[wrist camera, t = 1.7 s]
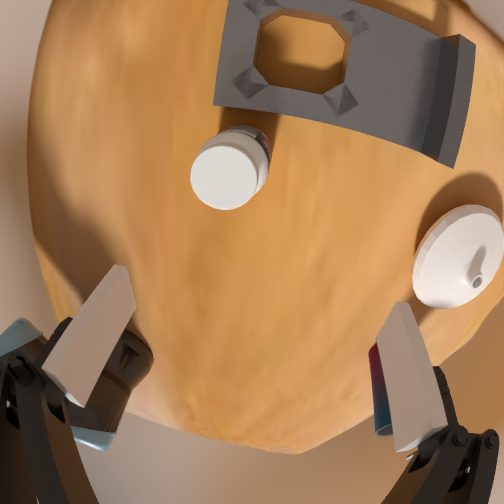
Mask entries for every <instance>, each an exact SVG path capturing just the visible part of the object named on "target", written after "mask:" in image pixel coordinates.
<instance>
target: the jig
mask: <svg viewBox="0 0 504 504" xmlns="http://www.w3.org/2000/svg"><path fill="white" fill-rule="evenodd" d="M281 15H286V16H292V17H298V18H304V19H309V20H314V21H319V22H323V23H328V24H331V26H332V27H333V28H334V29H335V30H336V32H337V33H338V34H339V35H340V36H341V38H342V39H343V40H344V42H345V49H344V55H343V61H342V67H341V73H340V79H339V84H337V85H335V86H334V87H332V88H330V89H328V90H327V91H325V92H323V93H322V94H316V93H311V92H306V91H301V90H296V89H291V88H285V87H279V86H272V85H269V83H268V82H267V81H266V80H265V79H264V77H263V76H262V75H261V74H260V73H259V72H258V70H257V69H256V68H255V67H256V61H257V55H258V48H259V42H260V36H261V30H262V27H263V26H264V25H266V24H268V23H269V22H271V21H273V20H274V19H276V18H278V17H280V16H281ZM475 50H476V45H475V44H474V43H473V42H471V41H470V40H468V39H467V38H465V37H464V36H462V35H460V34H457V35H452V36H448V37H443V38H440V37H438V36H437V35H435V34H433V33H431V32H429V31H427V30H425V29H423V28H421V27H419V26H417V25H415V24H413V23H410V22H408V21H406V20H404V19H401V18H399V17H397V16H394V15H392V14H389V13H387V12H384V11H381V10H379V9H376V8H373V7H370V6H367V5H364V4H361V3H358V2H354V1H351V0H229V2H228V7H227V13H226V18H225V24H224V30H223V36H222V43H221V49H220V56H219V63H218V70H217V77H216V85H215V93H214V101H213V106H224V107H234V108H243V109H251V110H259V111H266V112H272V113H278V114H284V115H290V116H295V117H300V118H305V119H310V120H314V121H319V122H323V123H328V124H332V125H336V126H340V127H344V128H347V129H351V130H355V131H358V132H362V133H365V134H368V135H372V136H375V137H378V138H381V139H384V140H387V141H390V142H393V143H396V144H399V145H402V146H405V147H407V148H410V149H413V150H415V151H418V152H420V153H422V154H424V155H426V156H428V157H430V158H431V159H433V160H435V161H437V162H439V163H441V164H443V165H446V166H448V167H450V168H452V169H453V168H454V165H455V161H456V158H457V154H458V151H459V147H460V143H461V139H462V135H463V131H464V127H465V122H466V117H467V112H468V107H469V102H470V96H471V89H472V82H473V73H474V64H475Z"/></svg>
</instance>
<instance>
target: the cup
mask: <svg viewBox="0 0 504 504" xmlns="http://www.w3.org/2000/svg"><path fill="white" fill-rule="evenodd" d="M369 362H370V371H371V380H372V391H373V403H374V419H375V435H376V436H379V437H386V436H392V435H393V427H392V420H391V413H390V407H389V401H388V395H387V389H386V384H385V379H384V374H383V369H382V364H381V359H380V355H379V350H378V346H377V345H375V346H374V347H372V348H371V350H370V351H369Z"/></svg>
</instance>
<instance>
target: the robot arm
mask: <svg viewBox="0 0 504 504" xmlns="http://www.w3.org/2000/svg"><path fill="white" fill-rule="evenodd" d="M136 308H137V305H136V301H135V297H134V294H133V290H132V286H131V282H130V278H129V273H128V269H127V267H126V266H121V265H115V264H114V265H113V267H112V268H111V269H110V270H109V272H108V273H107V274H106V275H105V277H104V278H103V279H102V281H101V282H100V283H99V284H98V286H97V287H96V288H95V290H94V291H93V292H92V294H91V295H90V296H89V298H88V299H87V300H86V302H85V303H84V304H83V306H82V307H81V308H80V310H79V311H78V313H77V314H76V315H75V317H74V318H71V317H67V318H66V319H65V320H64V321H62V322H61V323H60V324H59V325H58V327H57V328H56V330H55V331H54V333H53V334H52V336H51V337H50V340H47V339H46V338H45V337H44V336H43V333H42V332H40V331H39V330H38V329H36V327H35V326H34V325H32V323H31V322H30V321H28V320H27V319H25V318H19V319H17V320H16V321H14V322H13V323H12V325H10V326H9V327H8V328H7V329H6V330H5V331H4V332H3V333H2V334H1V335H0V504H37V498H38V501H39V504H99V502H98V500H97V498H96V496H95V494H94V492H93V489H92V487H91V485H90V482H89V480H88V477H87V475H86V472H85V469H84V467H83V464H82V461H81V458H80V455H79V452H78V449H77V447H76V443H75V441H78V442H80V443H82V444H85V445H87V446H90V447H92V448H95V449H98V450H106V449H108V448H109V447H110V445H111V443H112V441H113V439H114V437H115V435H116V431H117V429H118V426H119V423H120V421H121V418H122V415H123V413H124V410H125V407H126V405H127V402H128V400H129V397H130V395H131V392H132V390H133V389H134V388H135V387H136V386H137V385H138V384H139V383H140V382H141V381H142V380H143V379H144V377H145V376H146V375H147V374H148V373H149V371H150V369H151V367H152V364H153V356H152V354H151V352H150V350H149V349H148V348H147V347H146V345H145V344H144V343H143V342H142V341H140V340H139V339H138V338H137V337H136V336H134V335H133V334H131V333H130V332H128V331H127V330H125V327H126V325H127V323H128V322H129V320H130V318H131V316H132V315H133V313H134V311H135V309H136ZM376 341H377V346H378V350H379V355H380V359H381V364H382V369H383V374H384V379H385V384H386V389H387V395H388V401H389V407H390V413H391V420H392V427H393V435H394V443H395V452H400V451H406V450H410V449H412V448H414V447H415V446H417V445H418V450H417V451H416V452H414V453H412V454H410V455H408V456H407V458H406V460H408V459H410V458H411V457H412V459H411V460H410V461H409V464H408V465H407V467H406V469H405V470H404V472H403V473H402V475H401V476H400V478H399V479H398V481H397V483H396V484H395V485H394V487H393V488H392V490H391V491H390V493H389V494H388V495H387V496H386V498H385V499H384V500H383V502H382V503H381V504H488V501H489V497H490V494H491V489H492V485H493V480H494V475H495V470H496V464H497V458H498V450H499V436H498V434H497V432H496V431H494V430H493V429H488V430H487V431H485V432H484V433H482V434H475V433H468V431H467V429H466V428H464V426H461V425H459V424H458V421H457V417H456V413H455V409H454V405H453V402H452V398H451V395H450V391H449V388H448V387H447V385H448V384H447V381H446V378H445V375H444V373H443V372H442V370H441V369H440V367H439V366H432V364H431V361H430V358H429V355H428V352H427V349H426V346H425V343H424V341H423V338H422V335H421V332H420V330H419V327H418V325H417V322H416V319H415V317H414V314H413V312H412V310H411V307H410V305H409V303H407V302H396V303H395V305H394V306H393V308H392V310H391V312H390V314H389V316H388V318H387V320H386V321H385V323H384V325H383V327H382V329H381V330H380V332H379V334H378V336H377V337H376ZM468 467H470V470H469V473H468ZM36 495H37V497H36Z"/></svg>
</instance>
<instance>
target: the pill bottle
mask: <svg viewBox="0 0 504 504" xmlns="http://www.w3.org/2000/svg"><path fill="white" fill-rule="evenodd" d="M271 157H272V148H271V144H270V141H269V139H268V138H267V136H266V135H265V134H264V133H263V132H262V131H261V130H259V129H258V128H256V127H254V126H250V125H236V126H233V127H230V128H228V129H226V130H224V131H223V132H221V133H219V134H217V135H216V136H214V137H212V138H211V139H209V140H208V141H207V142H206V143H205V144H204V145H203V146H202V148H201V149H200V151H199V153H198V156H197V157H196V159H195V160H194V162H193V165H192V168H191V172H190V179H191V184H192V187H193V190H194V192H195V193H196V195H197V196H198V197H199V199H200V200H201V201H203V202H204V203H205V204H207V205H209V206H211V207H213V208H216V209H221V210H230V209H234V208H237V207H240V206H242V205H243V204H245V203H246V202H247V201H248V200H249V199H250V198H251V197H252V196H253V195H254V194H255V193H256V192H258V191H259V190H260V188H261V187H262V186H263V184H264V183H265V180H266V178H267V175H268V171H269V166H270V162H271Z"/></svg>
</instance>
